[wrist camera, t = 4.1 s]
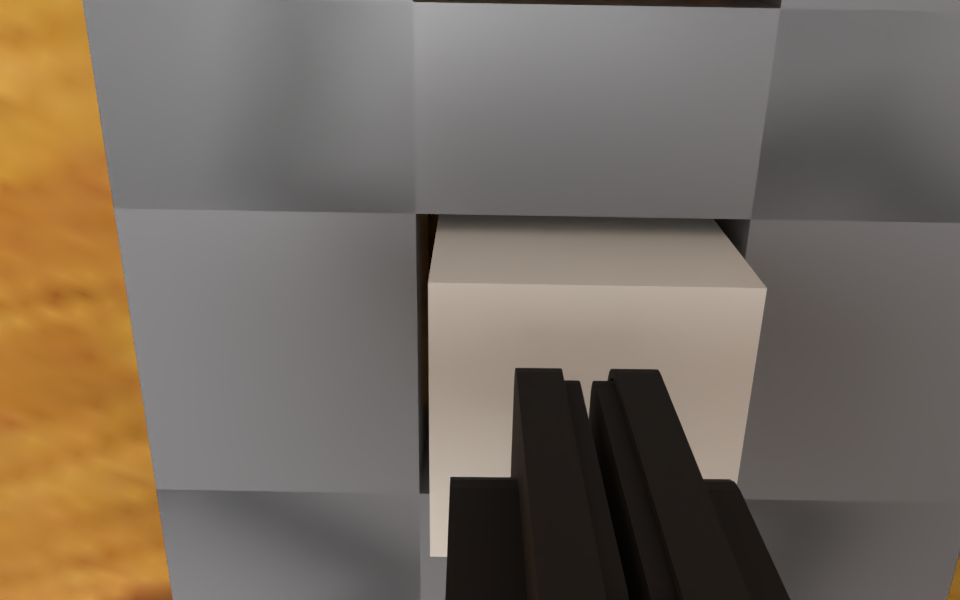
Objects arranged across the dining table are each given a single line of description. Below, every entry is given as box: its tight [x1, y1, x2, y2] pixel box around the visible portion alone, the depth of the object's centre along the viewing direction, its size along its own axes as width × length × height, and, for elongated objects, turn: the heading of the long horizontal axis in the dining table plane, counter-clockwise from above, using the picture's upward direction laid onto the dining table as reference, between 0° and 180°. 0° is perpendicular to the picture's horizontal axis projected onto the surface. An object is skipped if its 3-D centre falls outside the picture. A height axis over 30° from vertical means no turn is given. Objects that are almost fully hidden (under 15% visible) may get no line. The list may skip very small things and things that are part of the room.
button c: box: [428, 214, 767, 557], centre depth 14 cm, size 4×4×4 cm
